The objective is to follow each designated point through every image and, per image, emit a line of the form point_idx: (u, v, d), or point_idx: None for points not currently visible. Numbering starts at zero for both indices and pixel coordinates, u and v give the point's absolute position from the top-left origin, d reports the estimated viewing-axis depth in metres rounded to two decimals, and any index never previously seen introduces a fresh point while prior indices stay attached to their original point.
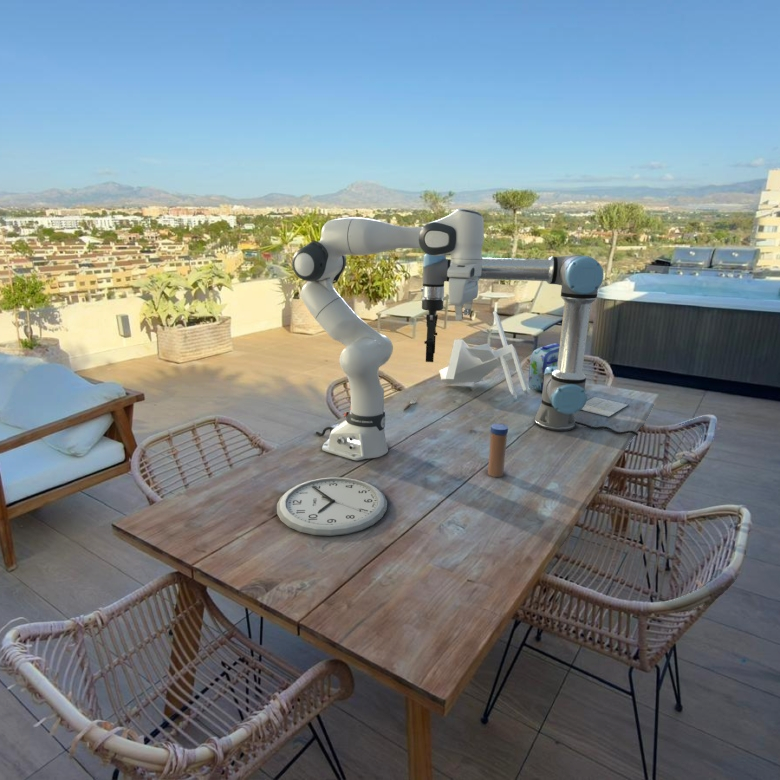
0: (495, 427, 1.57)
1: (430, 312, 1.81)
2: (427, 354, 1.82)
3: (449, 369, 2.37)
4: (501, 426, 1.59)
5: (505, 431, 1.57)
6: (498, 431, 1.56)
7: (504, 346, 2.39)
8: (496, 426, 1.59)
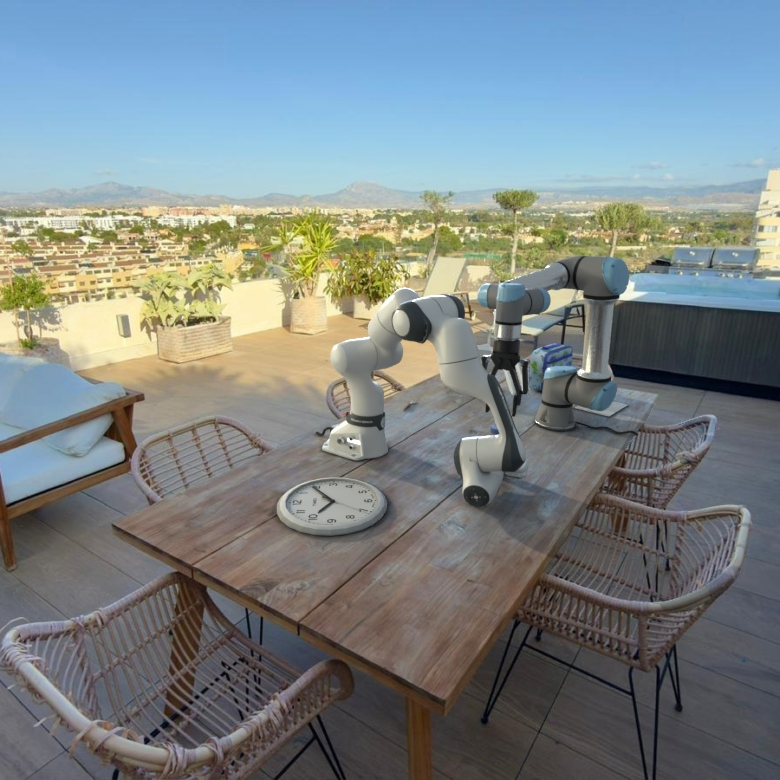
0: (495, 427, 1.57)
1: None
2: None
3: None
4: None
5: None
6: (498, 431, 1.56)
7: None
8: (496, 426, 1.59)
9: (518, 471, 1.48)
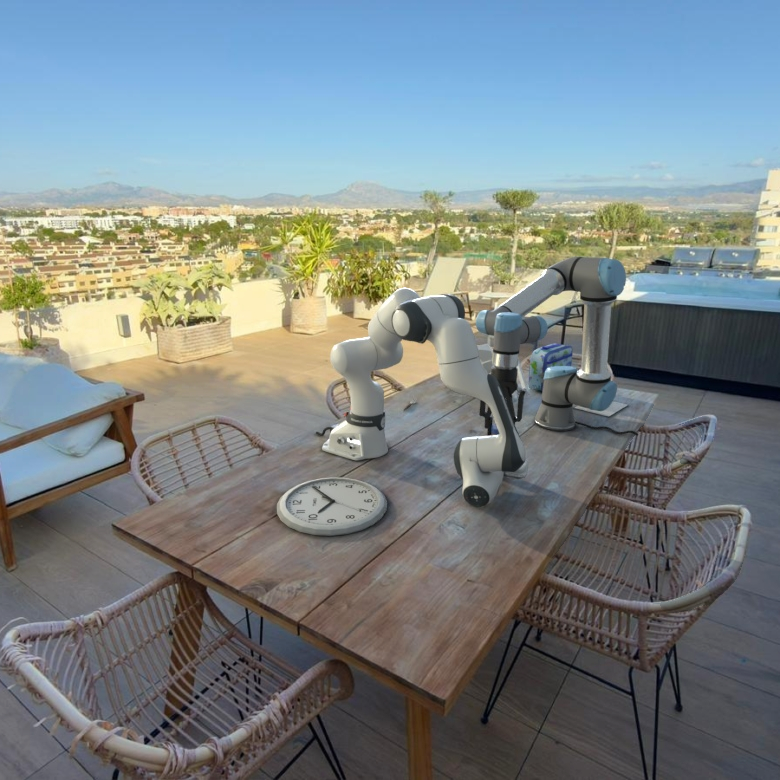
0: (495, 427, 1.57)
1: None
2: None
3: None
4: None
5: None
6: (498, 431, 1.56)
7: None
8: (496, 426, 1.59)
9: (518, 471, 1.48)
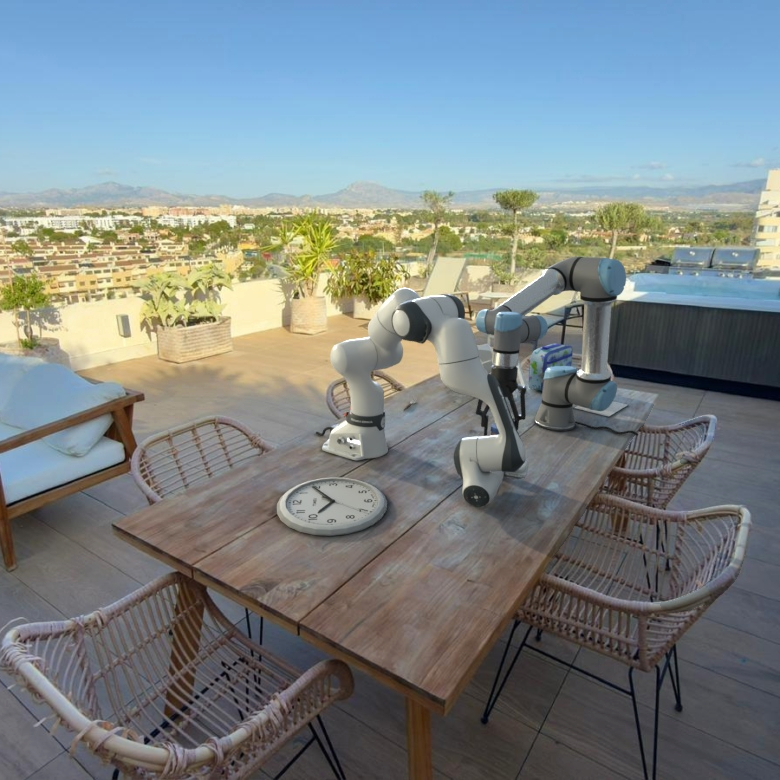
0: None
1: None
2: None
3: None
4: None
5: None
6: None
7: None
8: None
9: (518, 471, 1.48)
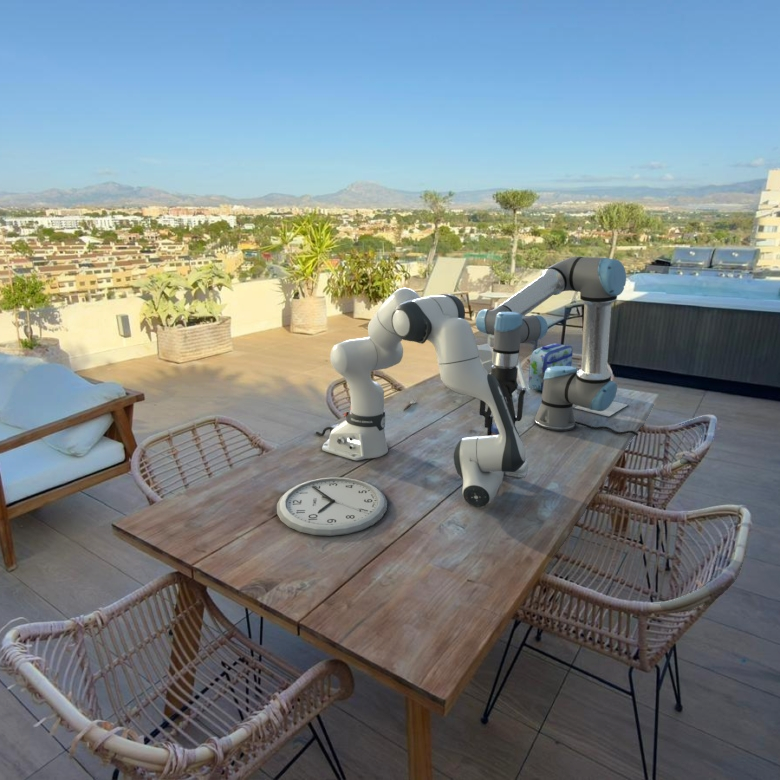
0: None
1: None
2: None
3: None
4: None
5: None
6: None
7: None
8: None
9: (518, 471, 1.48)
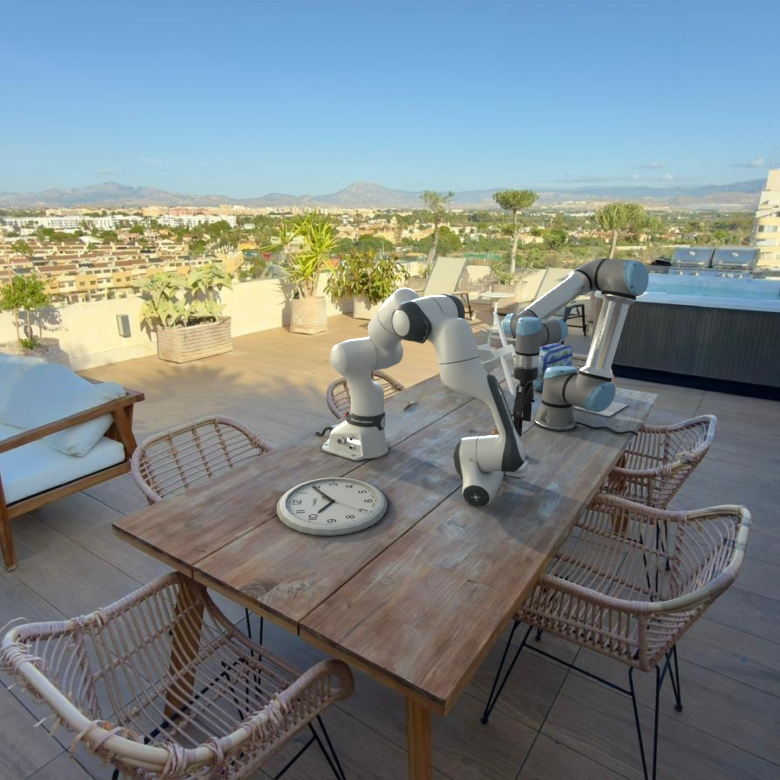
0: None
1: (521, 382, 1.65)
2: None
3: None
4: None
5: None
6: None
7: (504, 346, 2.39)
8: None
9: (518, 471, 1.48)
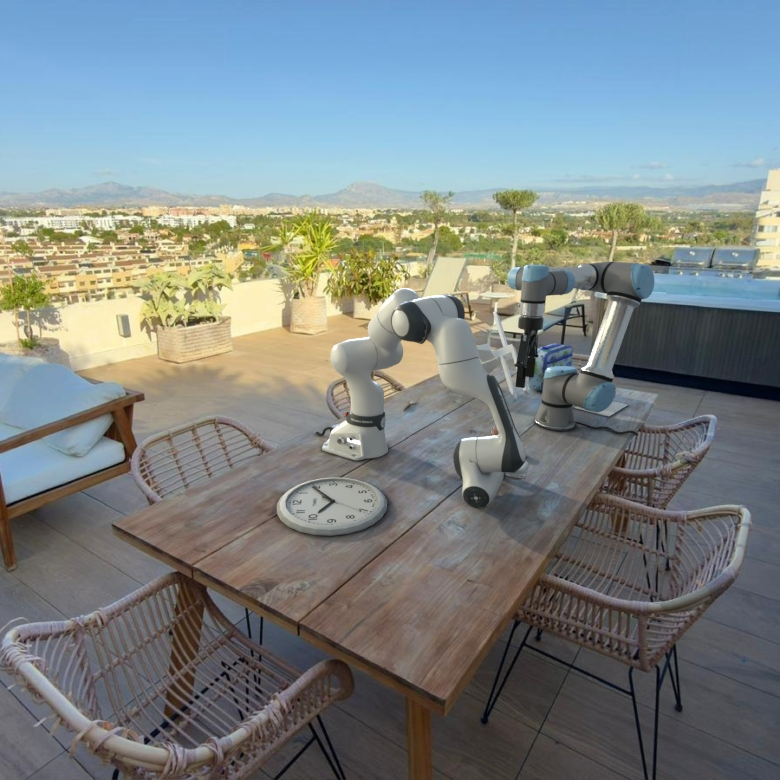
0: None
1: (525, 332, 1.60)
2: (518, 378, 1.62)
3: None
4: None
5: None
6: None
7: (504, 346, 2.39)
8: None
9: (518, 472, 1.48)
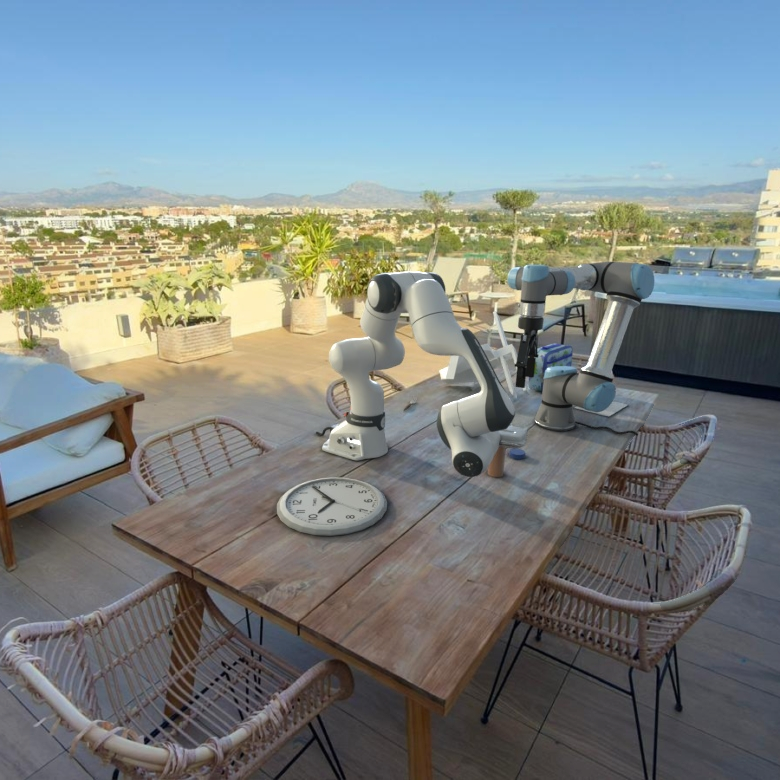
0: (521, 450, 1.76)
1: (525, 332, 1.60)
2: (518, 378, 1.62)
3: (449, 369, 2.37)
4: (515, 451, 1.75)
5: None
6: None
7: (504, 346, 2.39)
8: (519, 452, 1.75)
9: (515, 439, 1.33)
